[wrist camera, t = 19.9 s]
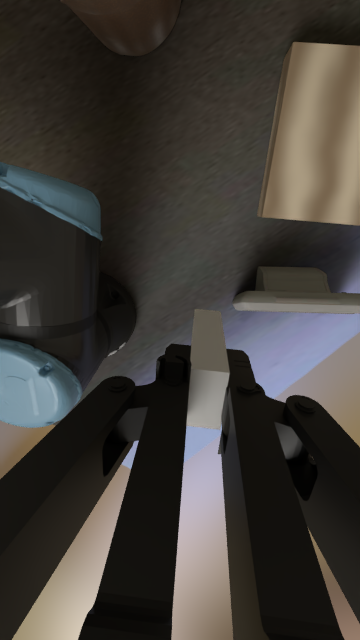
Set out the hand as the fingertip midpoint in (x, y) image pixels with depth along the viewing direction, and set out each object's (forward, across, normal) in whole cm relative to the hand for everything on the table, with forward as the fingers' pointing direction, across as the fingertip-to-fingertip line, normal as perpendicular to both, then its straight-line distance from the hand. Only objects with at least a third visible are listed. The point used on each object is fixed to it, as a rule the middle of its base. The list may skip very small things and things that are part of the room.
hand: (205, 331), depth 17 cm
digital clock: (+30, -13, +5) cm, 33 cm away
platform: (+29, -14, -15) cm, 36 cm away
